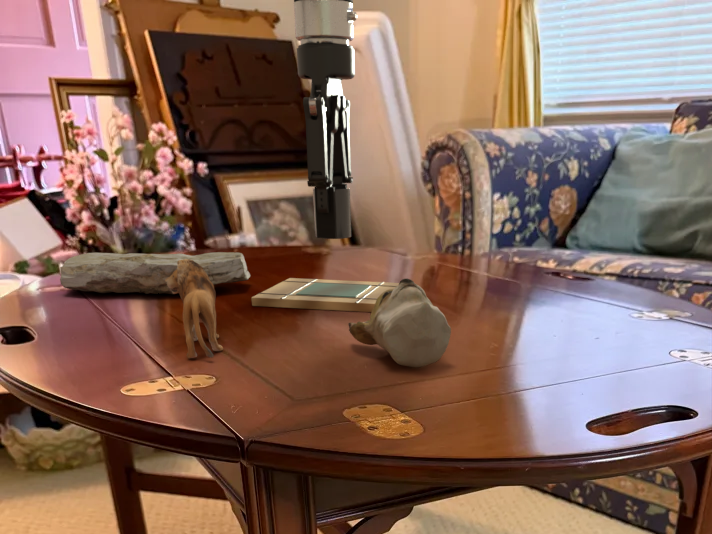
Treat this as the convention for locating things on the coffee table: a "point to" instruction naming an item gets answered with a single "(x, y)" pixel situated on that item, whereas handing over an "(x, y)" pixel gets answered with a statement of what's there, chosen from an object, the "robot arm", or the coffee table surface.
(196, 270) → the lion figurine
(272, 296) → the grid board
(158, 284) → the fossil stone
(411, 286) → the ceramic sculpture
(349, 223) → the black round canister
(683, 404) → the coffee table surface
